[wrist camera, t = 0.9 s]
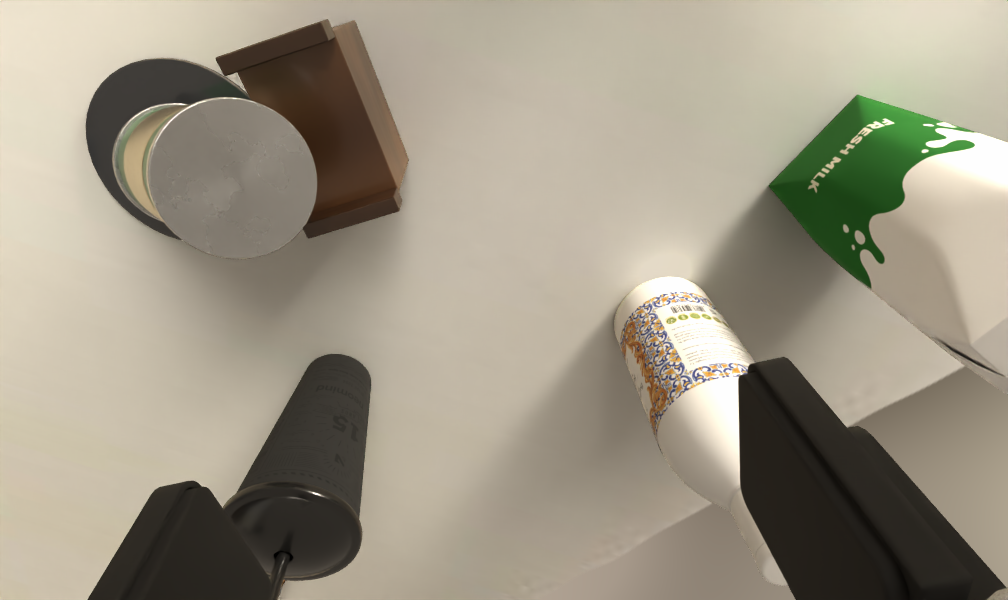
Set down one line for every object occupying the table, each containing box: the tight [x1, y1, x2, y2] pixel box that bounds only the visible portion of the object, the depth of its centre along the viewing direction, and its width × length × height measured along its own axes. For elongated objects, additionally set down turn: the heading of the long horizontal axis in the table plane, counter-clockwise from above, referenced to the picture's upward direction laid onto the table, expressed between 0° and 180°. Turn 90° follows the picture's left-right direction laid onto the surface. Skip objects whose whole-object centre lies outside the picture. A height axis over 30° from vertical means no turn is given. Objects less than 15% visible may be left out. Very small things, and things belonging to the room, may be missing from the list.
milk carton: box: [769, 95, 1008, 395], centre depth 28 cm, size 9×9×20 cm
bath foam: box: [614, 277, 788, 586], centre depth 33 cm, size 7×7×20 cm
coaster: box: [86, 58, 251, 240], centre depth 34 cm, size 11×11×1 cm
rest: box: [216, 19, 409, 238], centre depth 30 cm, size 9×5×7 cm, turn 16°
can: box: [112, 97, 317, 259], centre depth 28 cm, size 7×12×13 cm, turn 106°
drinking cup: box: [223, 354, 371, 600], centre depth 34 cm, size 8×8×20 cm
